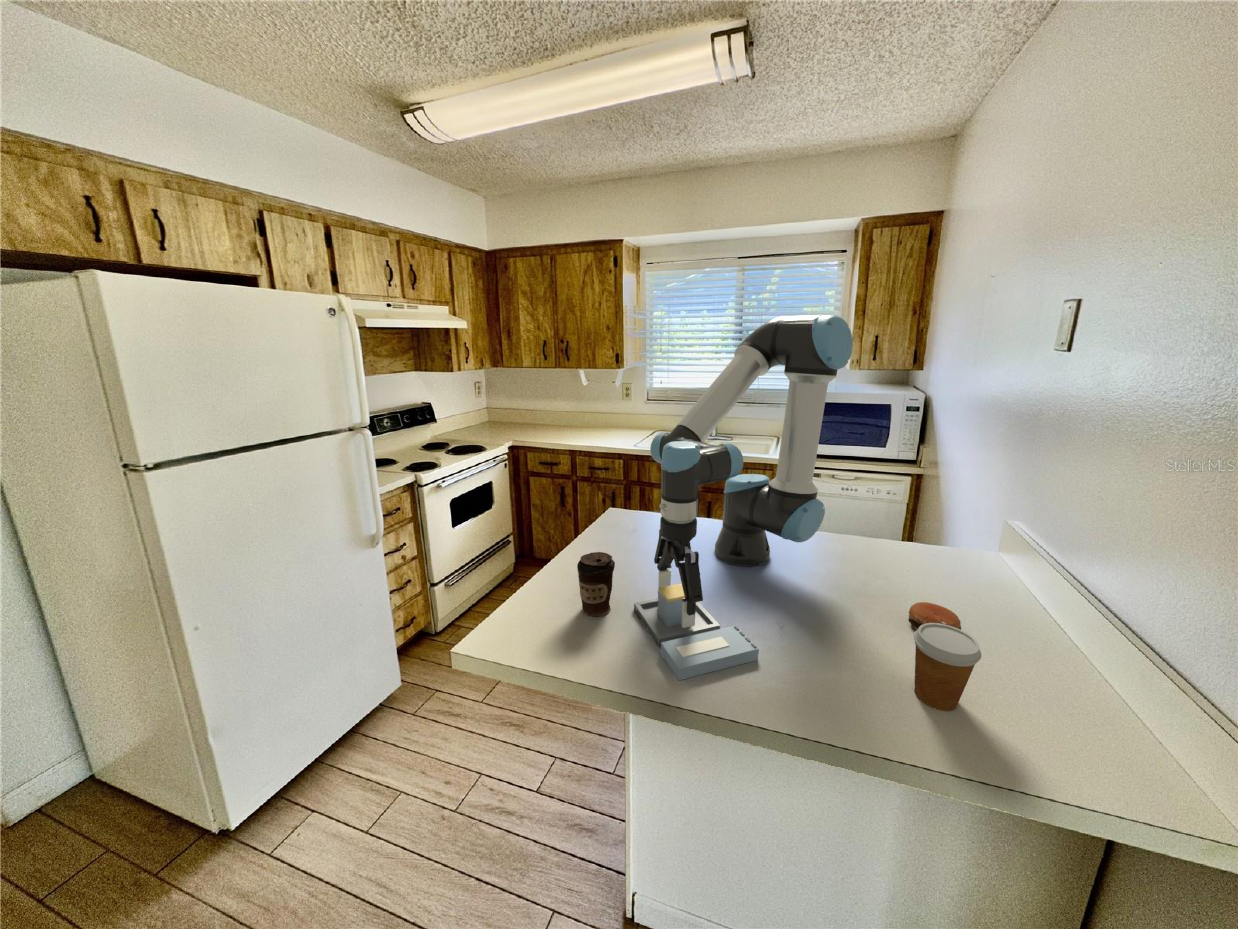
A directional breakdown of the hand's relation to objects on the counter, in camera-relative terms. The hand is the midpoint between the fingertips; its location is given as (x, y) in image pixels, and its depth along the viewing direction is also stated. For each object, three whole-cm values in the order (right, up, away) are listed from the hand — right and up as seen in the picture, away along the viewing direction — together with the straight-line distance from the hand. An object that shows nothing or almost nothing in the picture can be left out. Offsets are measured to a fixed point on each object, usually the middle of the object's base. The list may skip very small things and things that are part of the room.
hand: (675, 610), depth 105 cm
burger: (+55, -4, -2) cm, 55 cm away
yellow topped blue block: (0, -2, 0) cm, 2 cm away
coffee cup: (-18, -2, +5) cm, 18 cm away
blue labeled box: (+5, -6, -11) cm, 13 cm away
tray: (0, -3, +1) cm, 3 cm away
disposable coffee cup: (+43, -9, -21) cm, 48 cm away
